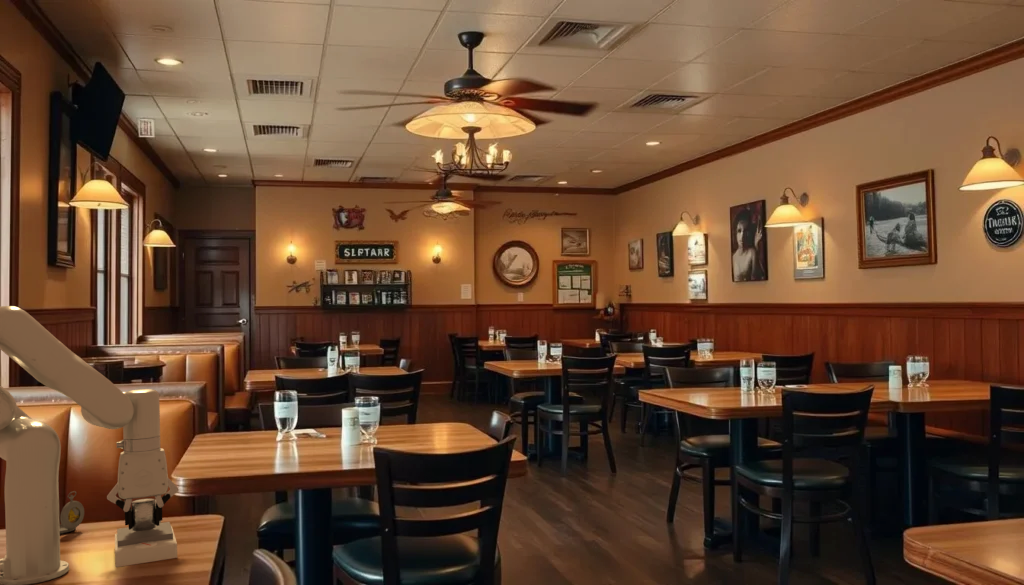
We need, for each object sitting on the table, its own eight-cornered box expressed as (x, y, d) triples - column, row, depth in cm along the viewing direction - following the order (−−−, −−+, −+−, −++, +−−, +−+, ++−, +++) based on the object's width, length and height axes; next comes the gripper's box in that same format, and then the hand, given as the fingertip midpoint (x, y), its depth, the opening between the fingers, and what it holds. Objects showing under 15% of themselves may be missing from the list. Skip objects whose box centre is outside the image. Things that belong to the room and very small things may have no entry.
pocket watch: (49, 529, 201) (48, 489, 201) (86, 525, 203) (85, 485, 203) (40, 538, 193) (39, 496, 193) (80, 534, 195) (79, 493, 195)
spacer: (132, 532, 178) (131, 505, 178) (131, 527, 182) (131, 500, 183) (156, 529, 180) (155, 502, 180) (155, 524, 185) (154, 497, 185)
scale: (115, 567, 170) (115, 547, 170) (115, 547, 184) (114, 528, 184) (177, 557, 175) (176, 538, 175) (172, 538, 190) (171, 520, 190)
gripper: (99, 451, 174) (101, 536, 174) (184, 443, 182) (186, 524, 182) (99, 446, 181) (101, 527, 181) (181, 438, 189) (183, 517, 189)
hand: (143, 525), depth 181 cm, fingers closed on spacer, 4 cm apart
